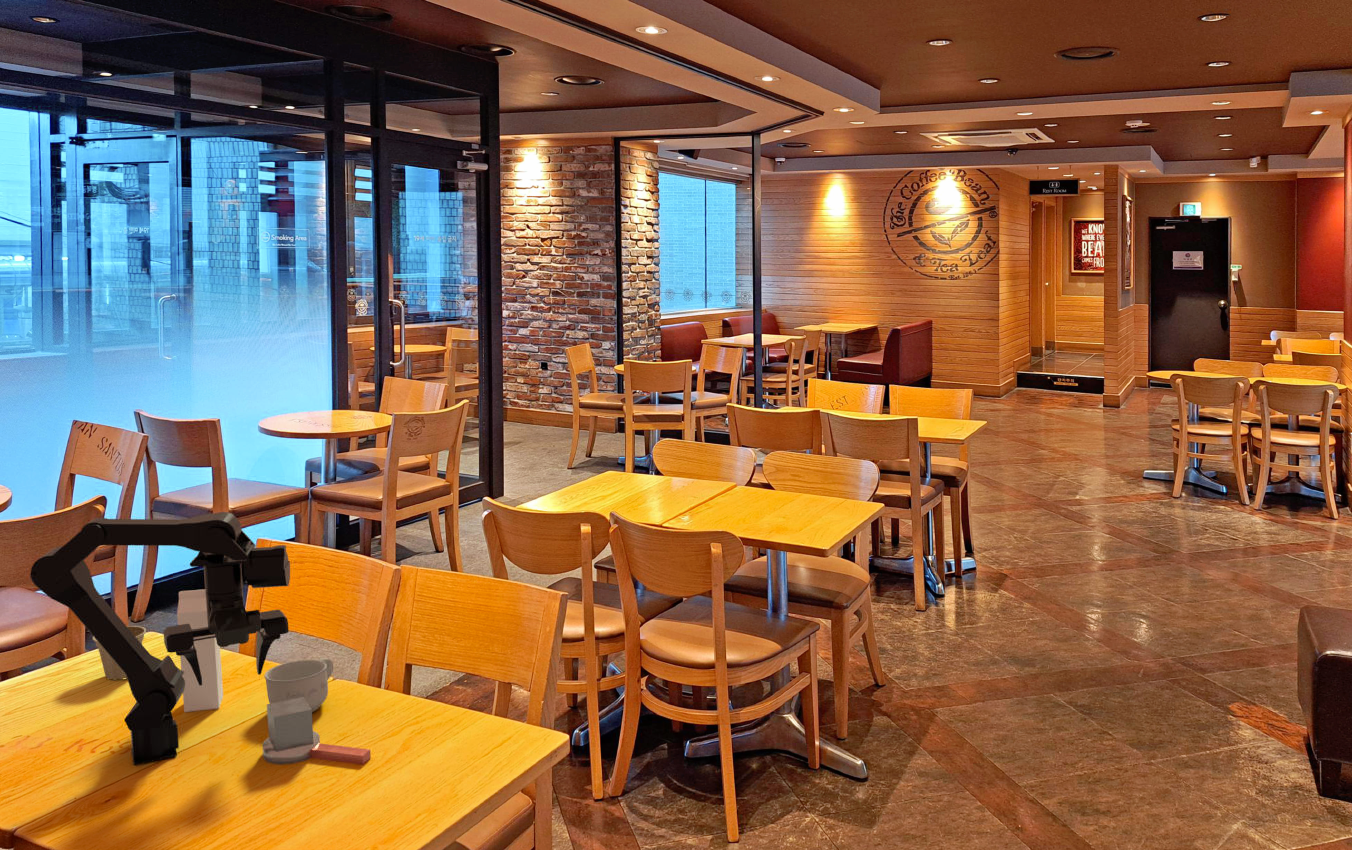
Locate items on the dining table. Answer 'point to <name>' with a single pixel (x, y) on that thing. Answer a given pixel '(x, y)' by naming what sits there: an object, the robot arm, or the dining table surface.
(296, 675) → the teacup
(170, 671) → the robot arm
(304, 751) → the pan with red handle
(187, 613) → the milk
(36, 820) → the dining table surface
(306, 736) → the matte grey cube
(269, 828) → the dining table surface
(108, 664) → the flower pot
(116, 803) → the dining table surface
